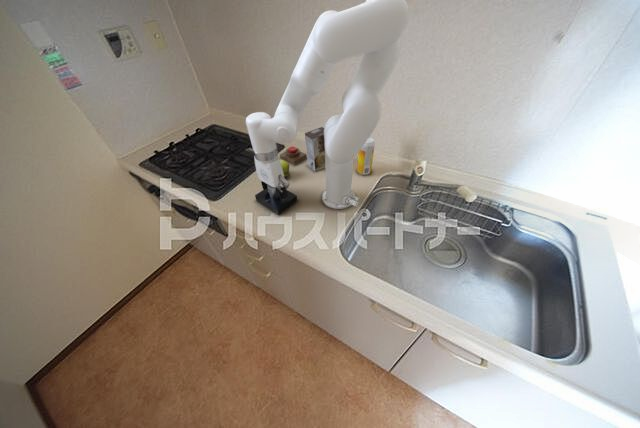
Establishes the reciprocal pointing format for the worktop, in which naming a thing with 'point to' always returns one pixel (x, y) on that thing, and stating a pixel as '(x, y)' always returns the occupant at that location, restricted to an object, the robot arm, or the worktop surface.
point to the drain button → (292, 149)
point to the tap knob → (273, 192)
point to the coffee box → (315, 149)
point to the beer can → (366, 157)
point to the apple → (285, 167)
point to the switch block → (293, 156)
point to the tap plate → (276, 201)
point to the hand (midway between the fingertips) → (275, 192)
